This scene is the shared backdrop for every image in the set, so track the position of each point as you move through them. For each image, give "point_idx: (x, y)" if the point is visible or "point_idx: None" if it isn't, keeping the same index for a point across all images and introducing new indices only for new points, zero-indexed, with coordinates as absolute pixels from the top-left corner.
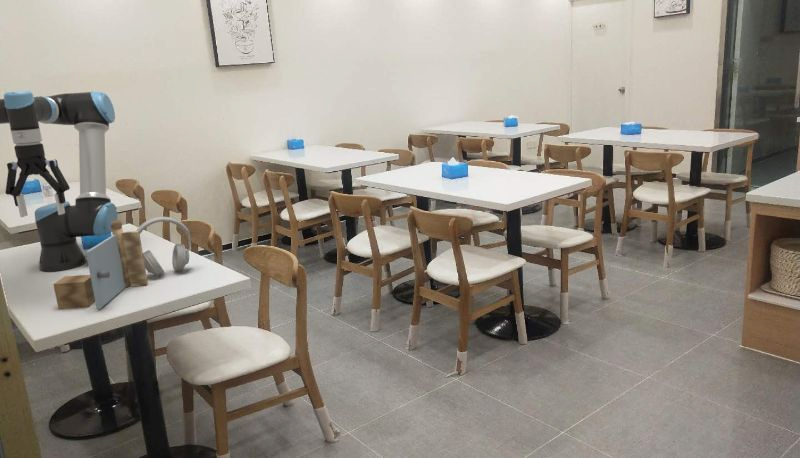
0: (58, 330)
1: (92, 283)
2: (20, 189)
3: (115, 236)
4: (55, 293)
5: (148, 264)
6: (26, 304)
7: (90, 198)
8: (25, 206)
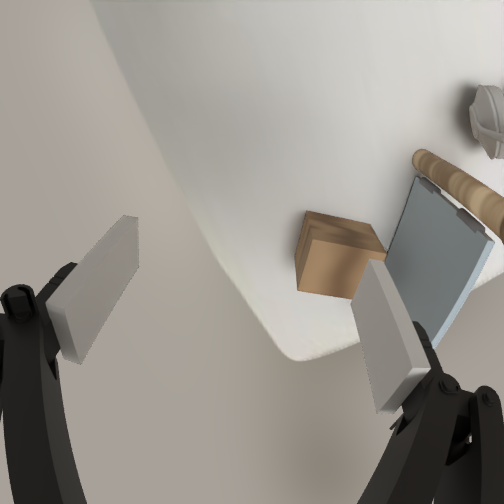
0: (317, 347)
1: None
2: (51, 382)
3: (489, 247)
4: (296, 276)
5: (488, 153)
6: (208, 199)
7: None
8: (111, 253)
